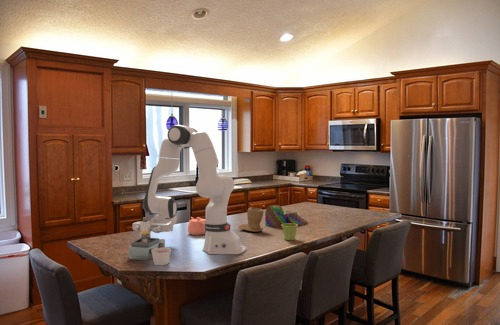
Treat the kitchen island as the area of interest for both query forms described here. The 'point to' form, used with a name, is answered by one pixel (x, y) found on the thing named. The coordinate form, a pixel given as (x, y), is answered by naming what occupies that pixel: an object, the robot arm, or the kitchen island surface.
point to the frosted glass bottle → (145, 230)
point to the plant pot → (289, 231)
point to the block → (281, 217)
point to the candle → (161, 256)
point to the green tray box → (144, 248)
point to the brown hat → (253, 220)
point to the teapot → (196, 226)
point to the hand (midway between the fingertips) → (144, 229)
